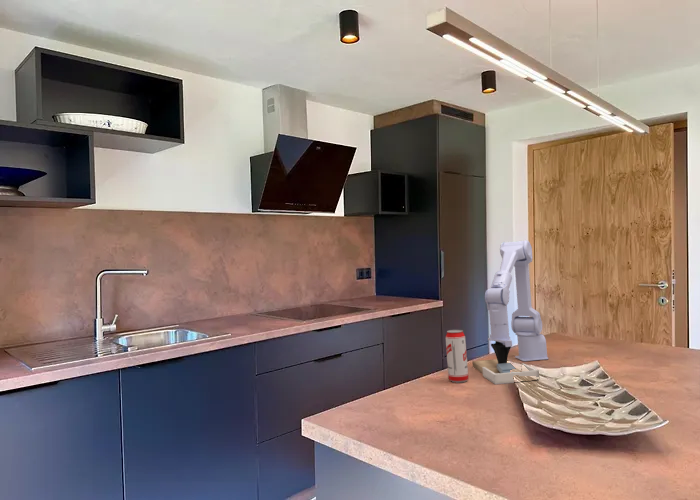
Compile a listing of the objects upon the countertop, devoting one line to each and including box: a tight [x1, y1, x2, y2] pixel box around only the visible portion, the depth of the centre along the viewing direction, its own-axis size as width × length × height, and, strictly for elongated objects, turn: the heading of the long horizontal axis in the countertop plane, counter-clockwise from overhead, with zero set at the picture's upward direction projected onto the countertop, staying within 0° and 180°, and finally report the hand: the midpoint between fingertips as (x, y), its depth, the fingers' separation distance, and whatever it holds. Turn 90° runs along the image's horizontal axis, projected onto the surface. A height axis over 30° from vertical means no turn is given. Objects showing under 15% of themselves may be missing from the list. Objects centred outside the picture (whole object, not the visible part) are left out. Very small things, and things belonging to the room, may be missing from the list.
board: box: [471, 358, 510, 375], centre depth 168 cm, size 12×14×2 cm
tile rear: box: [497, 363, 516, 373], centre depth 158 cm, size 4×4×2 cm
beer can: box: [445, 329, 469, 384], centre depth 157 cm, size 6×6×16 cm
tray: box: [482, 362, 540, 385], centre depth 155 cm, size 14×11×3 cm
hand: (502, 365), depth 161 cm, fingers closed
